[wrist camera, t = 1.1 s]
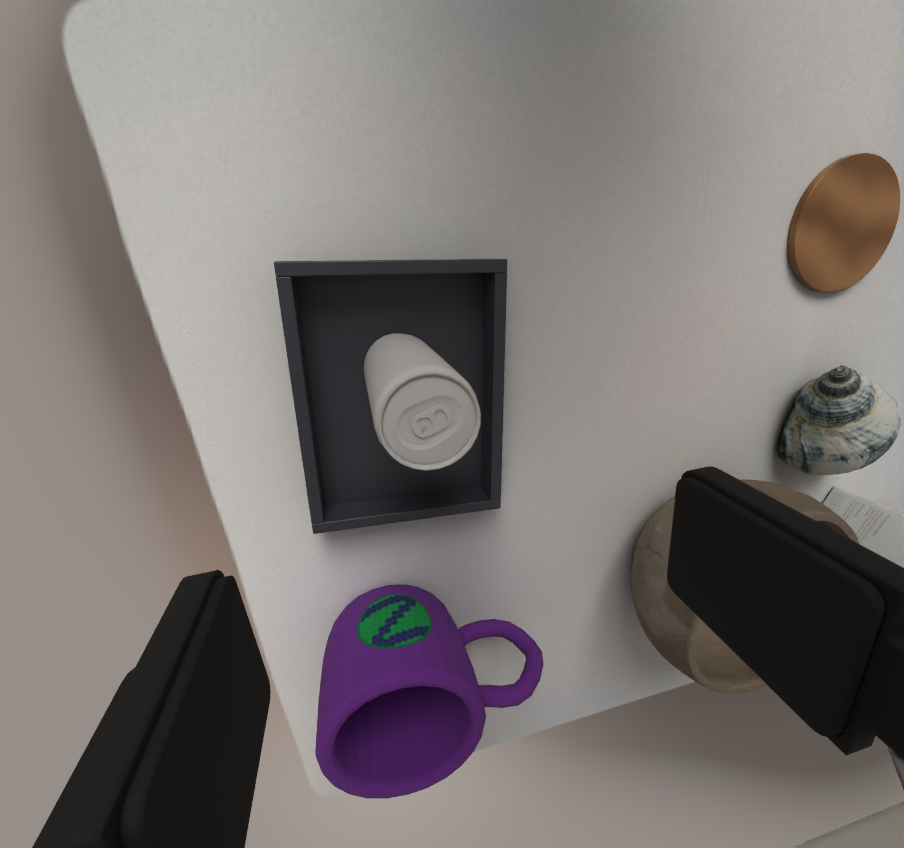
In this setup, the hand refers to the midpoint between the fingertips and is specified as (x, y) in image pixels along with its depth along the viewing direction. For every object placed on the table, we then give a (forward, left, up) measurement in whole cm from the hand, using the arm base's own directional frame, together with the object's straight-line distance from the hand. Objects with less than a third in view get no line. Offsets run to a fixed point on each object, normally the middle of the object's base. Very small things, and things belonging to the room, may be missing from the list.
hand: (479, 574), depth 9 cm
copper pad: (-9, +37, -23) cm, 44 cm away
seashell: (+7, +39, -23) cm, 46 cm away
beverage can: (0, +1, -22) cm, 23 cm away
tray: (+2, +1, -23) cm, 23 cm away
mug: (+23, +2, -23) cm, 33 cm away
